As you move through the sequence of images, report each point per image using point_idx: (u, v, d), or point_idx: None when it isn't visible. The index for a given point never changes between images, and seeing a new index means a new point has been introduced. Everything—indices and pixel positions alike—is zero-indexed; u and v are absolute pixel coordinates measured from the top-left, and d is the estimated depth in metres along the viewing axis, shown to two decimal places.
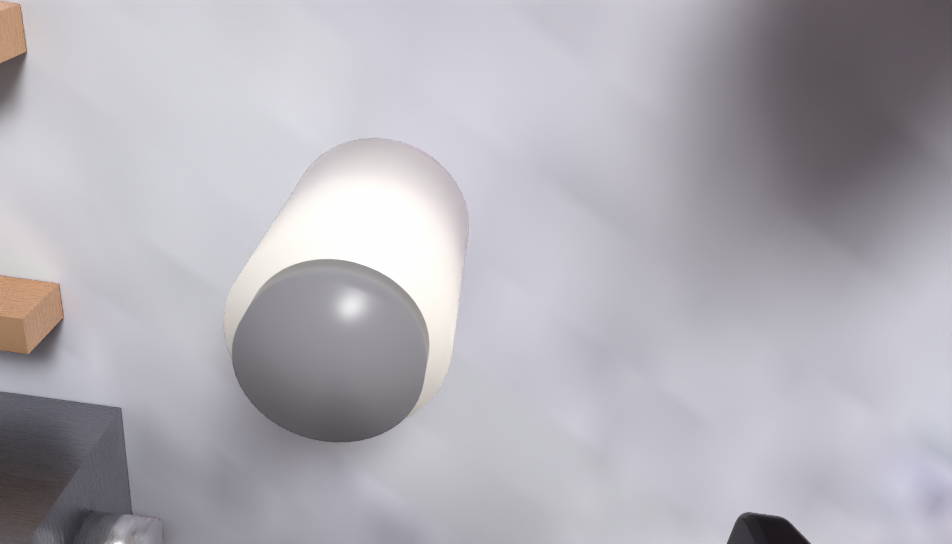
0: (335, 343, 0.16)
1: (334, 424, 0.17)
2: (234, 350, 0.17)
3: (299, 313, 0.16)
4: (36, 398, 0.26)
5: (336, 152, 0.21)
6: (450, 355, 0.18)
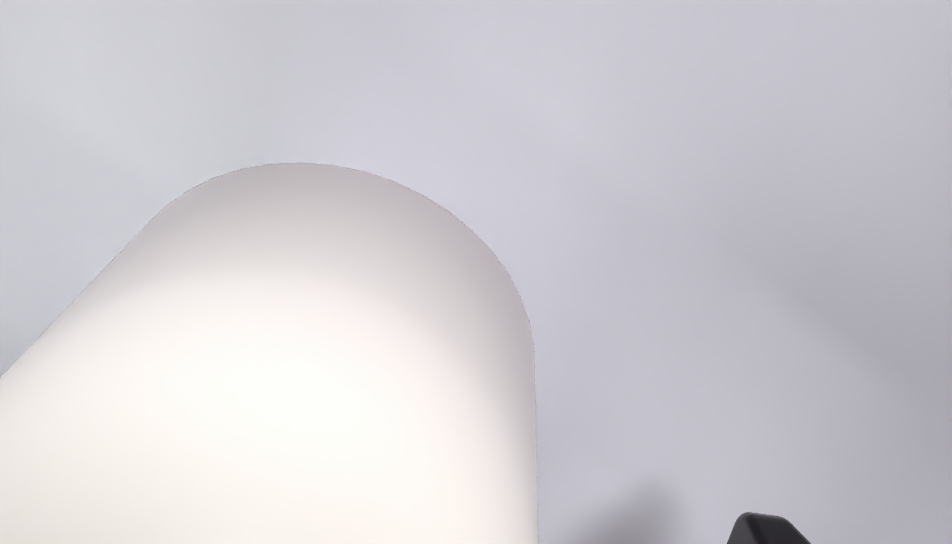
0: None
1: None
2: None
3: None
4: None
5: (193, 202, 0.08)
6: None
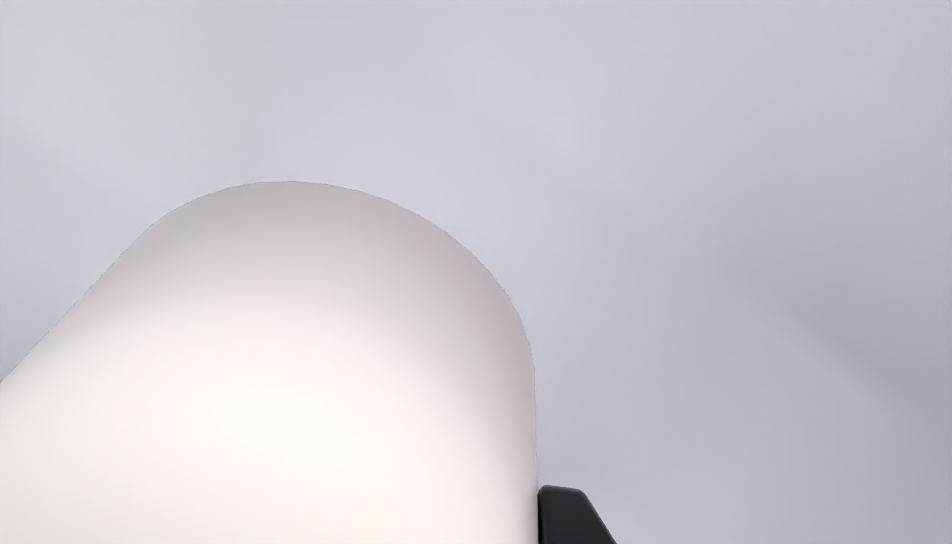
0: None
1: None
2: None
3: None
4: None
5: (178, 223, 0.08)
6: None
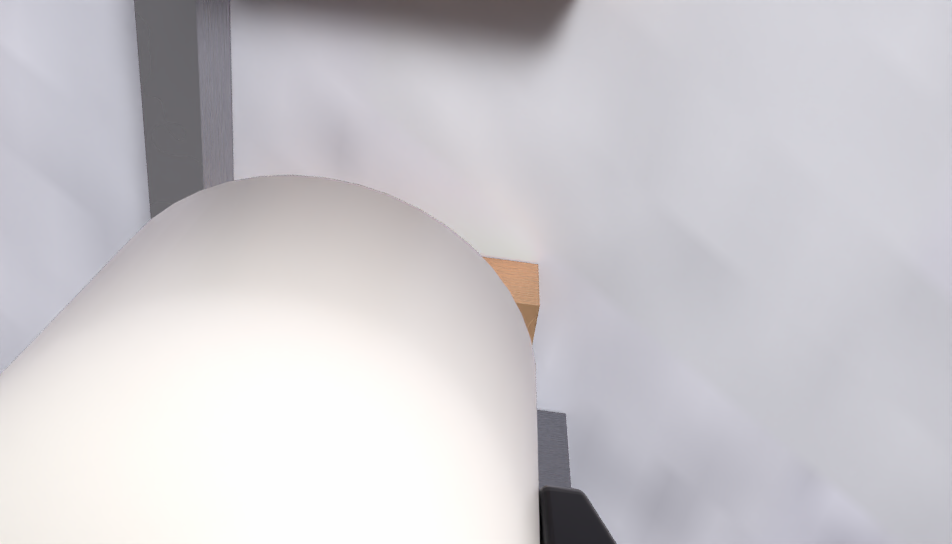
0: None
1: None
2: None
3: None
4: None
5: (178, 216, 0.08)
6: None
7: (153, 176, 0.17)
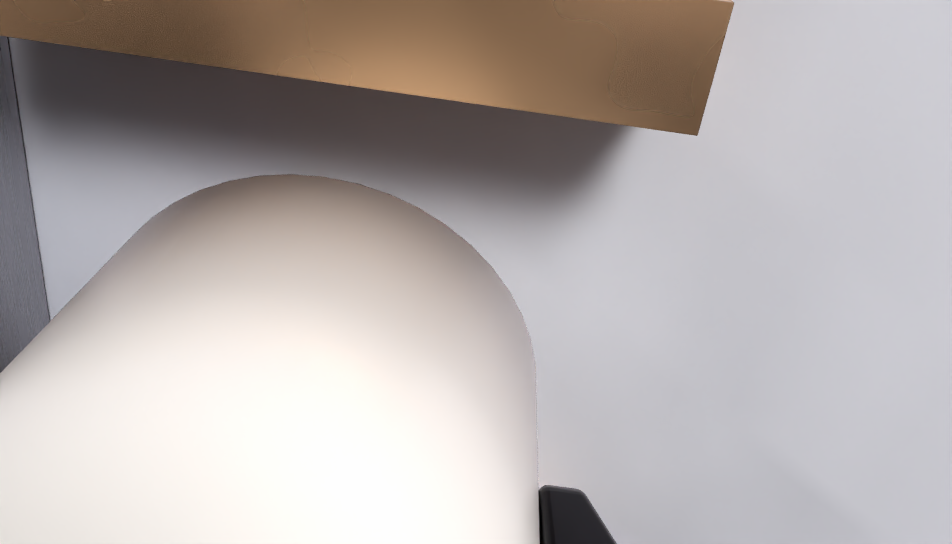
0: None
1: None
2: None
3: None
4: None
5: (177, 216, 0.08)
6: None
7: None
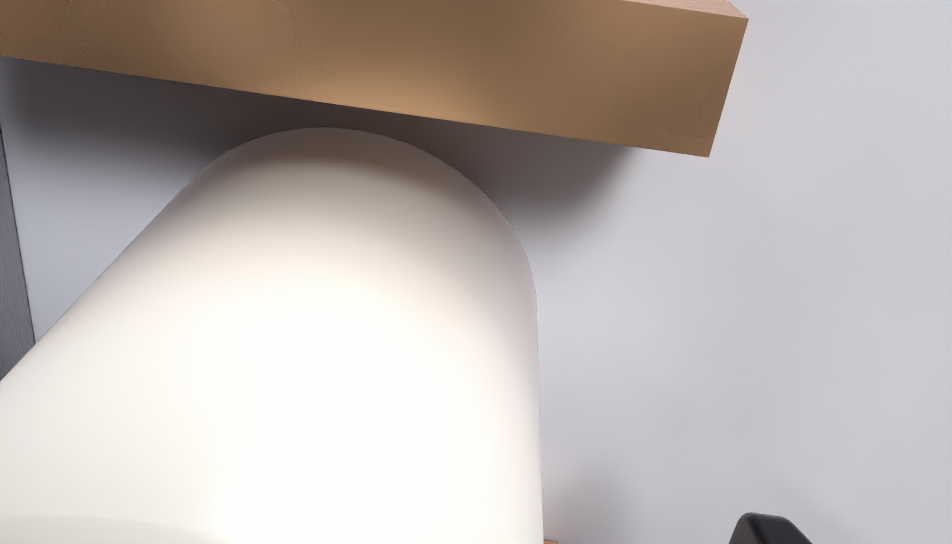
0: None
1: None
2: None
3: None
4: None
5: (232, 160, 0.09)
6: None
7: None
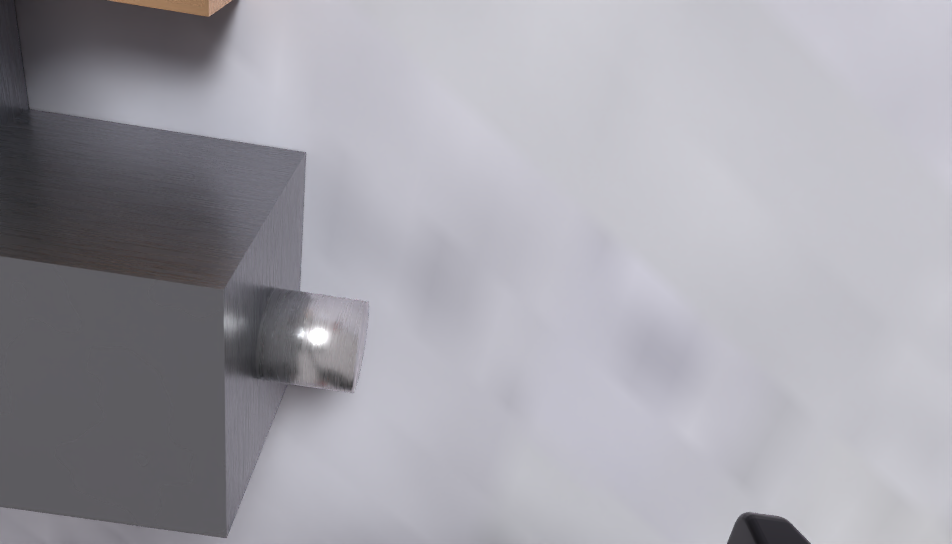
0: None
1: None
2: None
3: None
4: (186, 135, 0.18)
5: None
6: None
7: None
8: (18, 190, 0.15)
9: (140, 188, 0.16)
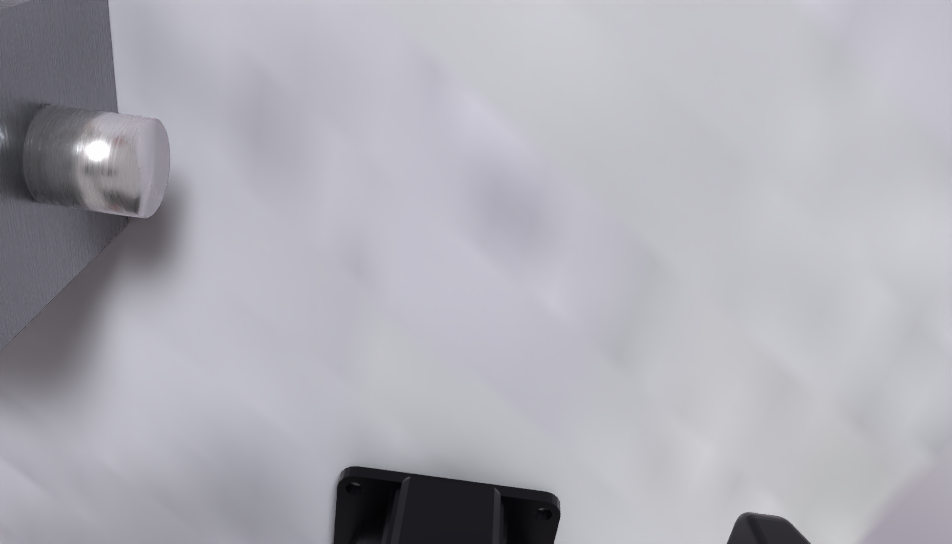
0: None
1: None
2: None
3: None
4: None
5: None
6: None
7: None
8: None
9: None
